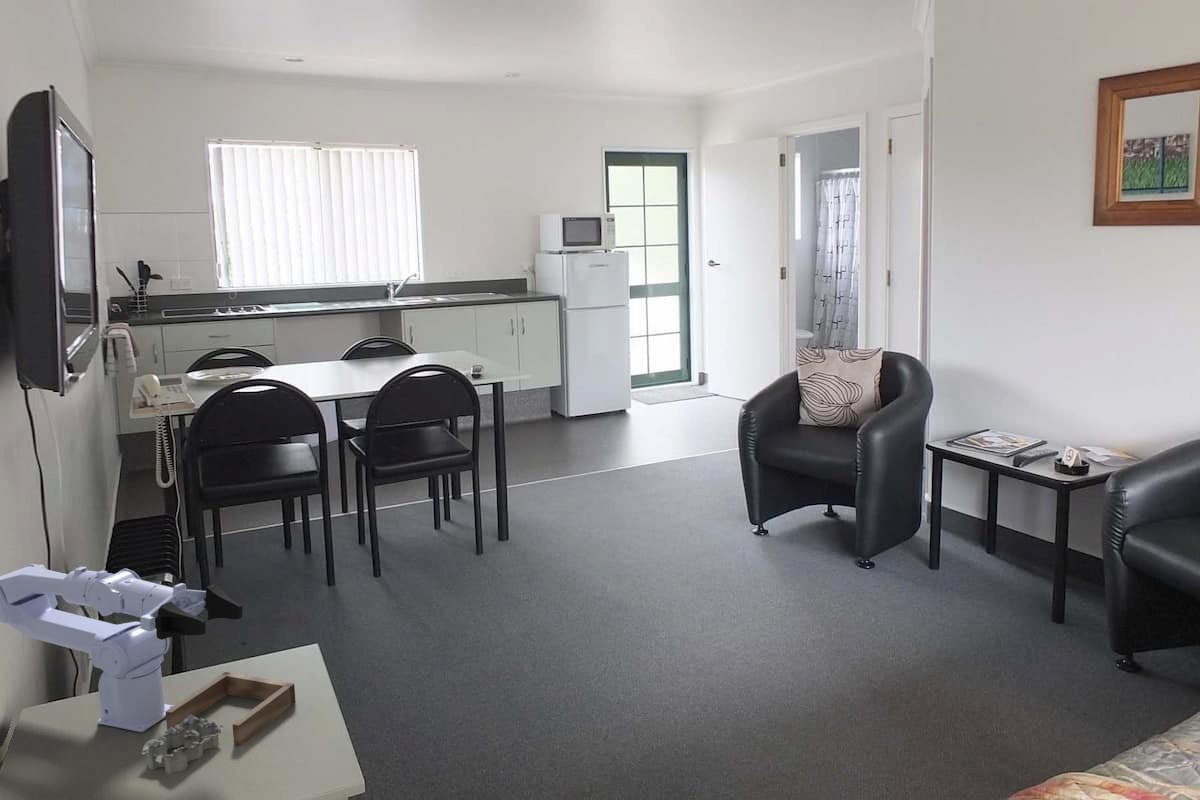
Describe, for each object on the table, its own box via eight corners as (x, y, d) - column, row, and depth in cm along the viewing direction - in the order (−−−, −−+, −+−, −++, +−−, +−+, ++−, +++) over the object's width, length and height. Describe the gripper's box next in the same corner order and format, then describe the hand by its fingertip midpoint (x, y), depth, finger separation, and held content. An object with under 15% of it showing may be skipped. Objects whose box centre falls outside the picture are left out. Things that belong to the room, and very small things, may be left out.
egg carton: (174, 778, 138) (171, 754, 137) (138, 767, 141) (135, 743, 140) (228, 742, 147) (226, 719, 147) (193, 732, 150) (191, 709, 150)
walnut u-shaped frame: (167, 731, 150) (165, 711, 150) (227, 690, 164) (225, 671, 163) (240, 745, 146) (238, 725, 145) (295, 702, 159) (294, 683, 159)
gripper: (118, 592, 141) (186, 609, 136) (192, 567, 154) (256, 582, 150) (118, 635, 142) (185, 655, 137) (192, 607, 155) (255, 623, 151)
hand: (222, 620), depth 143 cm, fingers open, 7 cm apart
